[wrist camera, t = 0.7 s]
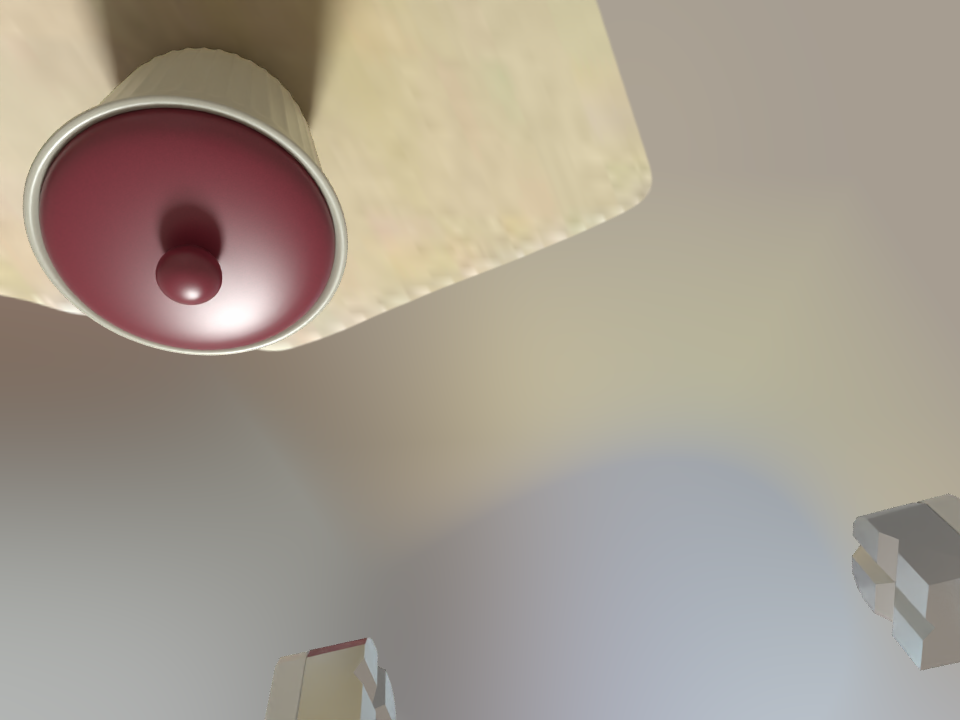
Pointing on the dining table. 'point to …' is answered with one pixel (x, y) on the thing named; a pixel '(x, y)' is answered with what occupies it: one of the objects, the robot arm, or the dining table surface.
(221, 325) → the canister
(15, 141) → the dining table surface
